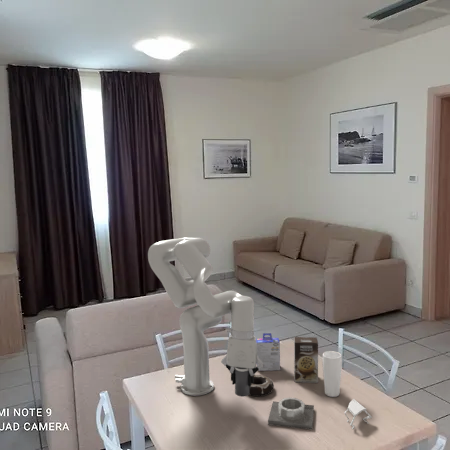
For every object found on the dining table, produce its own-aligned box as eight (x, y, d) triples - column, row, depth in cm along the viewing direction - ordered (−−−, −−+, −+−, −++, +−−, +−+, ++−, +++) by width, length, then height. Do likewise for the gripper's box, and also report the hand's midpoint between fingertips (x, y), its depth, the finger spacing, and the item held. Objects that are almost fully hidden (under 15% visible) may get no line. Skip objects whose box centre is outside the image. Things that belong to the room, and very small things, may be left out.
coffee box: (294, 382, 167) (294, 342, 165) (294, 375, 173) (293, 336, 172) (318, 383, 166) (318, 342, 164) (317, 375, 172) (316, 336, 170)
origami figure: (375, 429, 135) (375, 415, 134) (349, 430, 135) (349, 416, 134) (362, 409, 147) (362, 395, 146) (338, 410, 147) (338, 396, 146)
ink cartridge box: (279, 365, 183) (278, 332, 181) (280, 370, 177) (280, 336, 176) (256, 365, 183) (255, 332, 181) (256, 371, 178) (256, 337, 176)
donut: (239, 396, 158) (239, 386, 158) (246, 381, 169) (246, 371, 169) (270, 399, 155) (270, 389, 155) (276, 384, 166) (275, 374, 166)
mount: (268, 424, 139) (267, 411, 139) (273, 405, 151) (272, 393, 150) (312, 429, 136) (312, 416, 135) (313, 409, 147) (313, 397, 147)
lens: (233, 395, 146) (233, 367, 145) (236, 388, 151) (236, 361, 150) (248, 397, 145) (248, 369, 144) (250, 389, 150) (251, 362, 149)
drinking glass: (342, 399, 154) (342, 358, 152) (322, 397, 155) (322, 357, 153) (341, 390, 160) (341, 351, 158) (322, 388, 161) (322, 350, 160)
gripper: (215, 334, 144) (215, 386, 146) (265, 339, 140) (265, 392, 142) (220, 326, 151) (221, 375, 154) (269, 331, 147) (268, 381, 149)
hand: (242, 383), depth 148 cm, fingers closed on lens, 5 cm apart
